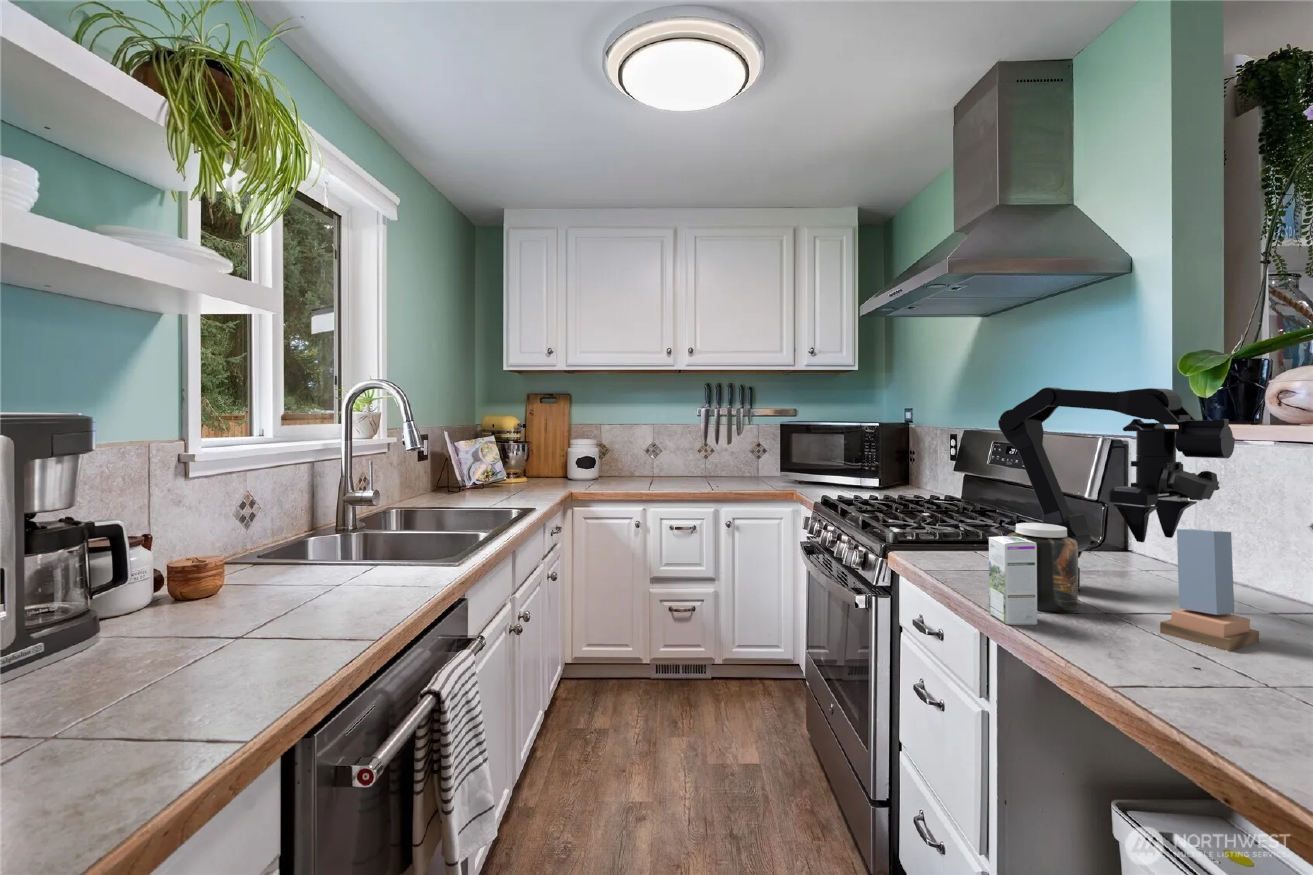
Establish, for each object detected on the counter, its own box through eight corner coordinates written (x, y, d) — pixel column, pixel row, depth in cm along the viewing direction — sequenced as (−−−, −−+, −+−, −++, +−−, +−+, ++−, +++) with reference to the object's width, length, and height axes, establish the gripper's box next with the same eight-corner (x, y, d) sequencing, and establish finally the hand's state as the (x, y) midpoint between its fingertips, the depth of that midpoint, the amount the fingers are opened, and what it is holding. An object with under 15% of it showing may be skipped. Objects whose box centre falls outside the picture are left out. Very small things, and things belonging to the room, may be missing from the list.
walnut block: (1228, 656, 92) (1229, 639, 92) (1160, 636, 101) (1160, 621, 100) (1258, 646, 96) (1259, 631, 96) (1190, 628, 104) (1190, 614, 104)
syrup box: (1038, 625, 105) (1039, 541, 104) (1004, 625, 105) (1004, 542, 105) (1019, 614, 111) (1020, 535, 110) (987, 614, 111) (987, 535, 110)
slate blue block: (1216, 614, 95) (1213, 531, 96) (1179, 608, 100) (1176, 529, 101) (1234, 613, 97) (1231, 531, 98) (1196, 607, 102) (1194, 529, 103)
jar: (1011, 609, 114) (1012, 529, 113) (1000, 592, 125) (1000, 520, 124) (1086, 615, 110) (1086, 533, 109) (1067, 597, 121) (1067, 522, 120)
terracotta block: (1223, 637, 93) (1223, 624, 93) (1171, 623, 100) (1171, 611, 100) (1249, 631, 96) (1250, 618, 96) (1197, 617, 102) (1197, 606, 102)
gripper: (1180, 460, 101) (1178, 553, 101) (1237, 456, 109) (1236, 542, 109) (1107, 457, 111) (1106, 541, 112) (1164, 453, 119) (1163, 532, 119)
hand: (1154, 539), depth 113 cm, fingers open, 9 cm apart
